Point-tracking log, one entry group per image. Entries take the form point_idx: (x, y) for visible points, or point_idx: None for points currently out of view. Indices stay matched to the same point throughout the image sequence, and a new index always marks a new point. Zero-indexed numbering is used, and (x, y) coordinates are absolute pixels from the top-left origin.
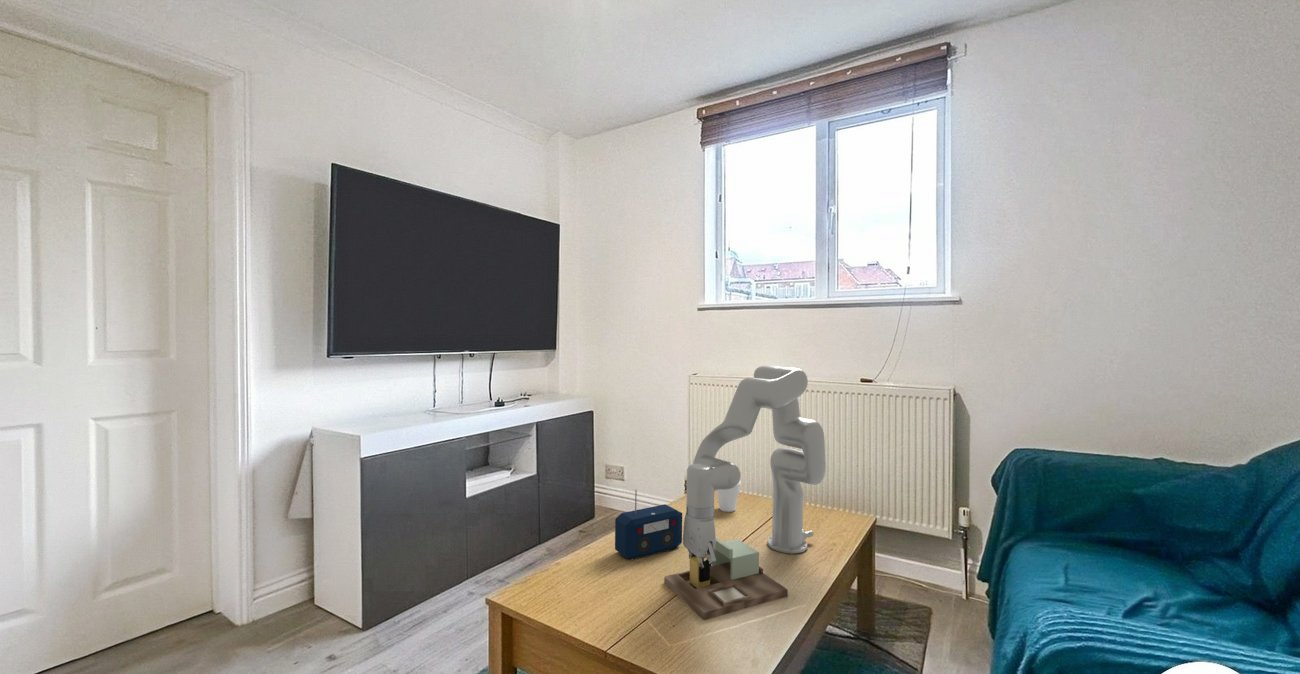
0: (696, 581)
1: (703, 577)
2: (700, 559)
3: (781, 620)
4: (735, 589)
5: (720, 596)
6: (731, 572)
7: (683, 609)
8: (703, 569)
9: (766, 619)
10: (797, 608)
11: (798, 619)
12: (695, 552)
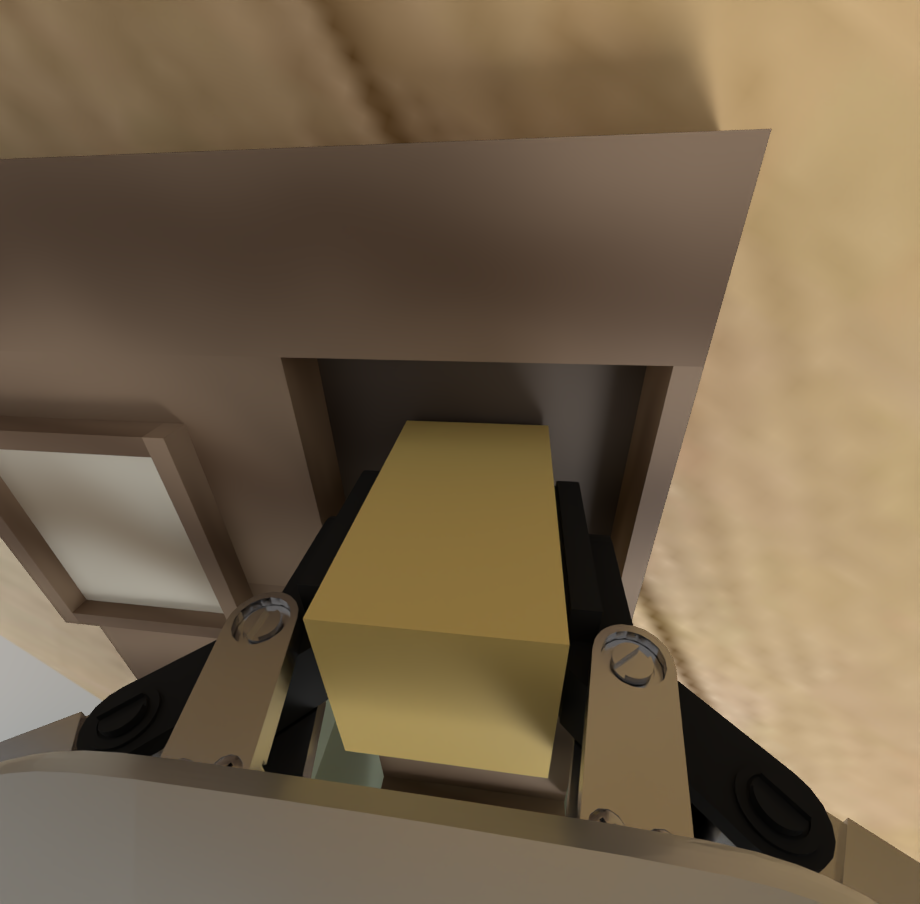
0: (410, 451)
1: (331, 523)
2: (246, 715)
3: (7, 597)
4: (204, 607)
5: (103, 476)
6: (324, 712)
7: (86, 62)
8: (292, 594)
9: (5, 554)
10: (118, 688)
11: (26, 645)
12: (79, 889)
